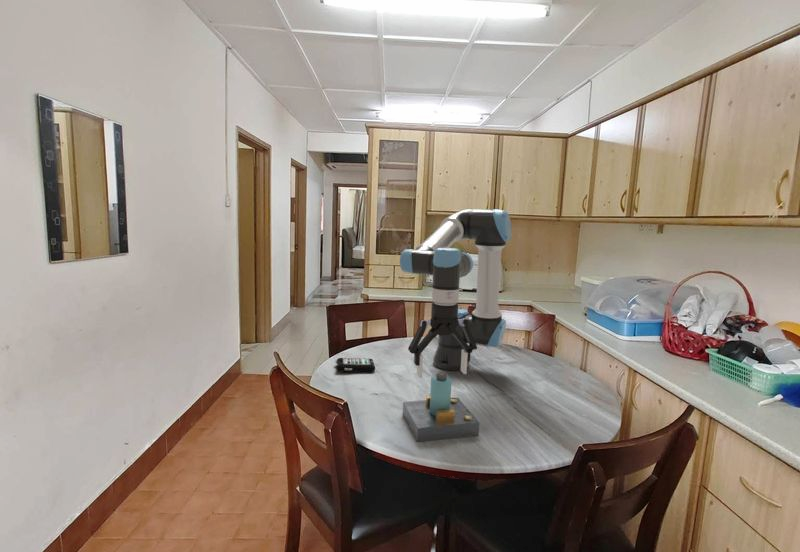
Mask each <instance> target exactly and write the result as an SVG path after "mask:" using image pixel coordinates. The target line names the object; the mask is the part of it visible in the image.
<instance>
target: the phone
mask: <svg viewBox="0 0 800 552" xmlns="http://www.w3.org/2000/svg"><path fill="white" fill-rule="evenodd" d="M374 363H375V362H374V360H373V358H366V357H364V358H361V357H352V358H351V357H338V358H337V359H336V360H335V364H336V370H337V371H338V372H341V373H345V372H366V373H373V372H375V370H376V366H375V364H374Z"/></svg>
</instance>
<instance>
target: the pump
mask: <svg viewBox="0 0 800 552" xmlns="http://www.w3.org/2000/svg"><path fill="white" fill-rule="evenodd" d="M435 374H436V375H433V376H432V377H431V378H430V395H429V396H430V410H429V411H430V413H431V414H432V415H435V416H436V411H438V410H449V409H450V402H451V398H452V381H453V379H452V377H450V376H448V374H447V373H446V372H442V371H441V372H439V371H438V372H437V373H435Z"/></svg>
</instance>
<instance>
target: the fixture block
mask: <svg viewBox="0 0 800 552" xmlns="http://www.w3.org/2000/svg"><path fill="white" fill-rule="evenodd" d="M429 410H430V395H426V396H425V399H424V400H413V401H412V400H411V401H403V402H402V415H403V417H404V419H405V421H406V423H407V425H408V427H409V429H410V431H411V433H412V434H413V437H414V439H415V441H416V442H417V443H421V442H430V441H440V440H448V439H457V438H458V439H459V438H469V437H477V436H479V433H480V421H479V420H478V419H477V417H475V415H474V414H473V413H472V412H471V411H470V410H469V409H468V407H467V406H466V405H465V404H464V403H463V402H462V401H461V399H460V398H459V397H451V402H450V409H449V410H438V411H436V416H435V415H432V414H431V413H430V411H429Z"/></svg>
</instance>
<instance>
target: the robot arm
mask: <svg viewBox="0 0 800 552" xmlns="http://www.w3.org/2000/svg"><path fill="white" fill-rule="evenodd" d="M511 225H512V223H511V217H510V214H509V213H508V211H507V210H503V209H496V208H492V209H491V208H490V209H489V208H486V209H485V208H481V209H478V208H477V209H476V208H475V209H474V208H465V209H462V210H461V209H460V210H459V211H456V212H454V213H452V214H450V215H449V216H447V217H445V218H444V219H443V220H442V221H441V222H440V224H439V227H438V228H437V229H435V231H433V233H432V234H431V235H429V236H428V237H427V238H426V239H424V240H423V242H422V243H421V244H420V245H418V247H416V248H415V249H412V248H410V249H409V248H408V249H403V251H402V252H401V253H400V257H399V266H400V270H401V271H402V272H404V273H407V274H412V275H415V274H416V275H427V276H432V288H431V290H432V291H431V301H432V303H431V309H430V310H431V315H430V316H431V317H430V320H427V319H426V320H425V319H423V318H421V319H420V321H419V324H418V325H419V326H418V328H417V330H416V332H415V334H414V336H413V338H412V340H411V341H410V343H409V345H408V348H407V350H408V352H409V353H410V354H414V355H413V356H414V357H413V358H414V359H413V363H414V365H415V366H416V374H417V376H418V378H423V367H424V366H423V363H424V360H423V358H424V355H423V354H422V353H423V351H424V350H425V349H426V348H427V347H428V346H429V344H430V343H431V342H432V341H433V340H434V339H435V338H437V336H438V339H437V340H438V342H437V343H438V344H437V348H436V350H435V353H434V355H433V359H432V360H433V361H432V365H434V367H436V368H438V369H441V370H445V371H454V372H456V371H461V373H463V375H467V373H468V372H467V371H468V369H469V367H470V361H471V354H472V353H473V351H475V350H477V349H478V346H481V347H486V348H498V347H499V346H500V345H501V343H502V342H503V338H504V334H505V330H506V325H507V323H506V322H507V320H506V319H504V318H503V315H502V312H501V311H500V310H499V302H500V301H499V298H500V279H501V263H502V261H501V260H502V259H501V258H502V250H503V249H504V248H505V247H506V246H507V245H506V244H507V242H509V241H510V240H511V237H512V226H511ZM461 240H474V246H475V247H476V248H477V249H478V250H477V251H478V252H477V253H478V254H477V255H478V256H477V275H476V276H477V277H476V296H475V297H476V301H475V303H476V304H475V306H476V307H475V308H474V310H473V311H471V314H469V311H468V310H467V309H462V308H459V304H458V303H459V300H460V298H459V297H460V278H464V277H466V276H468V274H469V273H471V272H472V270H473V268H474V260H473V258H472V256H471V255H470V253H467V252H465V251H461V250H460V249H459V248H457V247H450V246H452V245H453V244H454V243H455V242H458V241H461ZM429 326H430V327H431V328H430V329H429V330H428V332H427V334H426V335H425V332H426V329H428V328H429ZM424 335H425V336H424ZM423 336H424V337H423Z"/></svg>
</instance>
